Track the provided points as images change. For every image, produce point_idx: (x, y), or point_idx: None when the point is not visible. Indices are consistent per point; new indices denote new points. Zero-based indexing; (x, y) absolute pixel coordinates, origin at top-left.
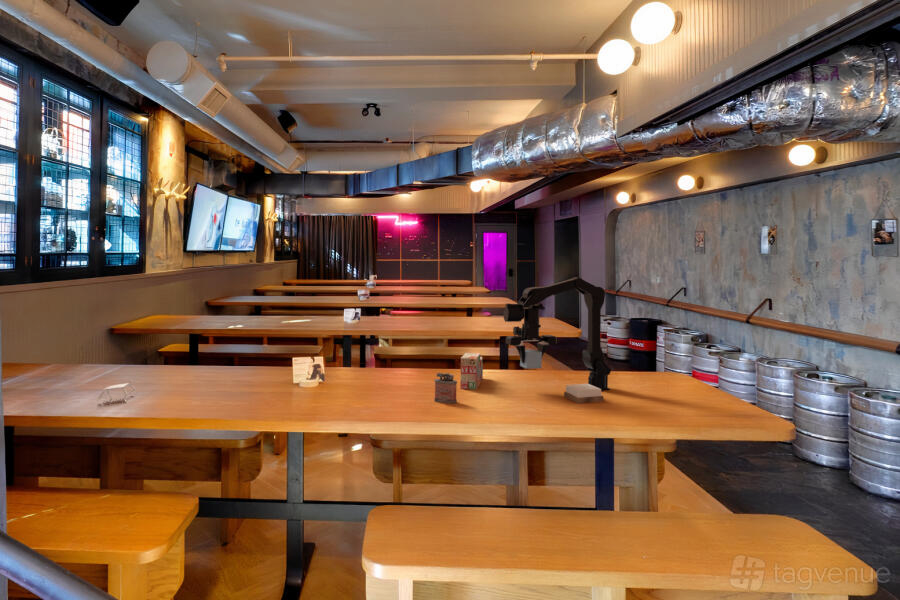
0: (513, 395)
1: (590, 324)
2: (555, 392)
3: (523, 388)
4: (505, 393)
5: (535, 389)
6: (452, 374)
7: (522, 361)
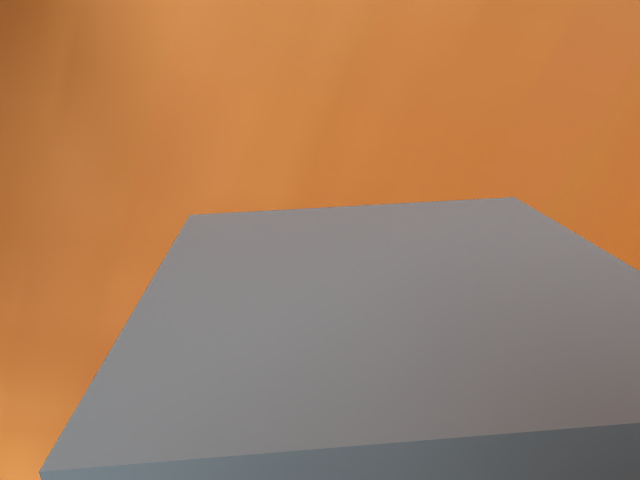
0: (112, 325)
1: None
2: None
3: (306, 63)
4: (48, 244)
5: (414, 135)
6: None
7: None
